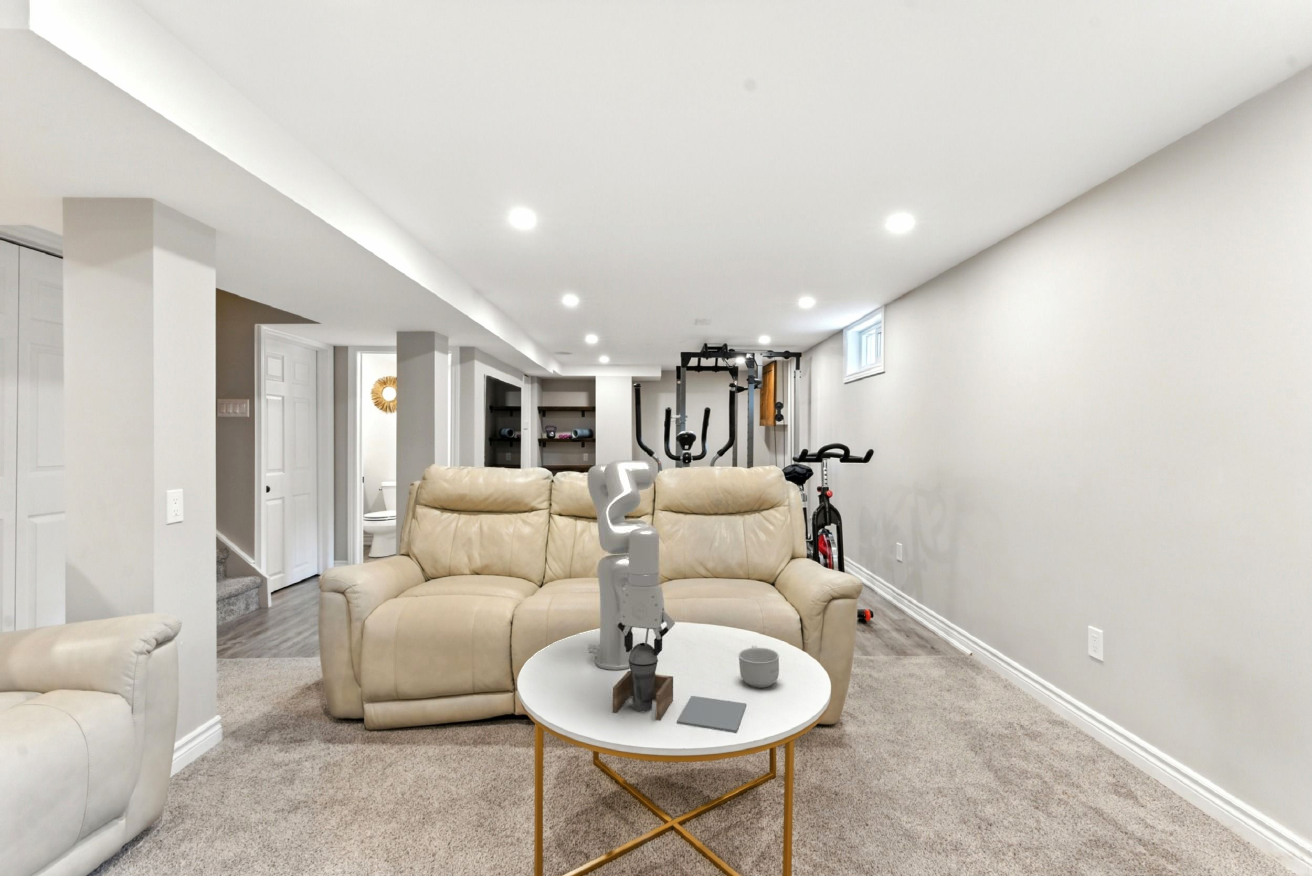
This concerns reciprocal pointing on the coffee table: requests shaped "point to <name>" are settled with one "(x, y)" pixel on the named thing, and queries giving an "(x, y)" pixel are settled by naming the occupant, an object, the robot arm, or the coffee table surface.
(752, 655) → the teacup
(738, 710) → the slate mat
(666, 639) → the coffee table surface
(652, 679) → the beverage cup
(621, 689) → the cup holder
